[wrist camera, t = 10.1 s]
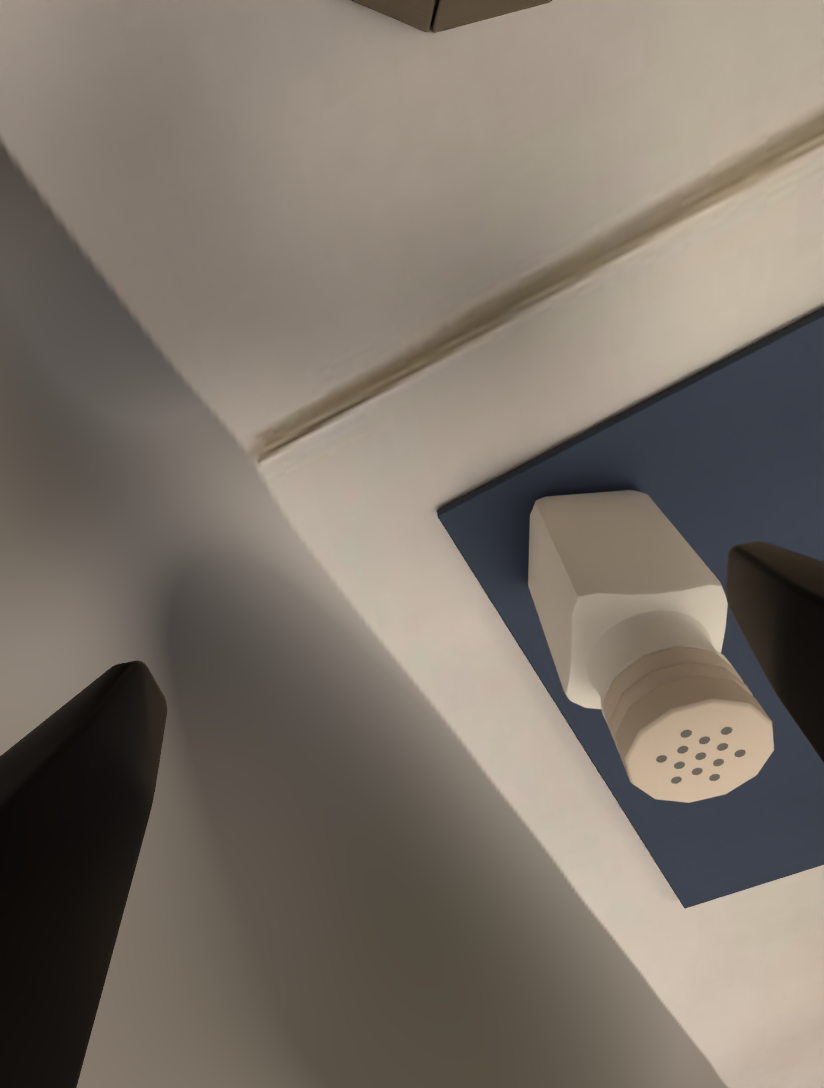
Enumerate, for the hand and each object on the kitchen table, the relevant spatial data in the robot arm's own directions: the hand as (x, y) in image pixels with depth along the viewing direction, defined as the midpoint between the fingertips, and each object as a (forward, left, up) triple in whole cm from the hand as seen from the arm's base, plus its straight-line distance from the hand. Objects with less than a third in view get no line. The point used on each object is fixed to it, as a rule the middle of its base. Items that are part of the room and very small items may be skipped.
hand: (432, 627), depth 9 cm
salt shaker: (+5, -6, -11) cm, 14 cm away
